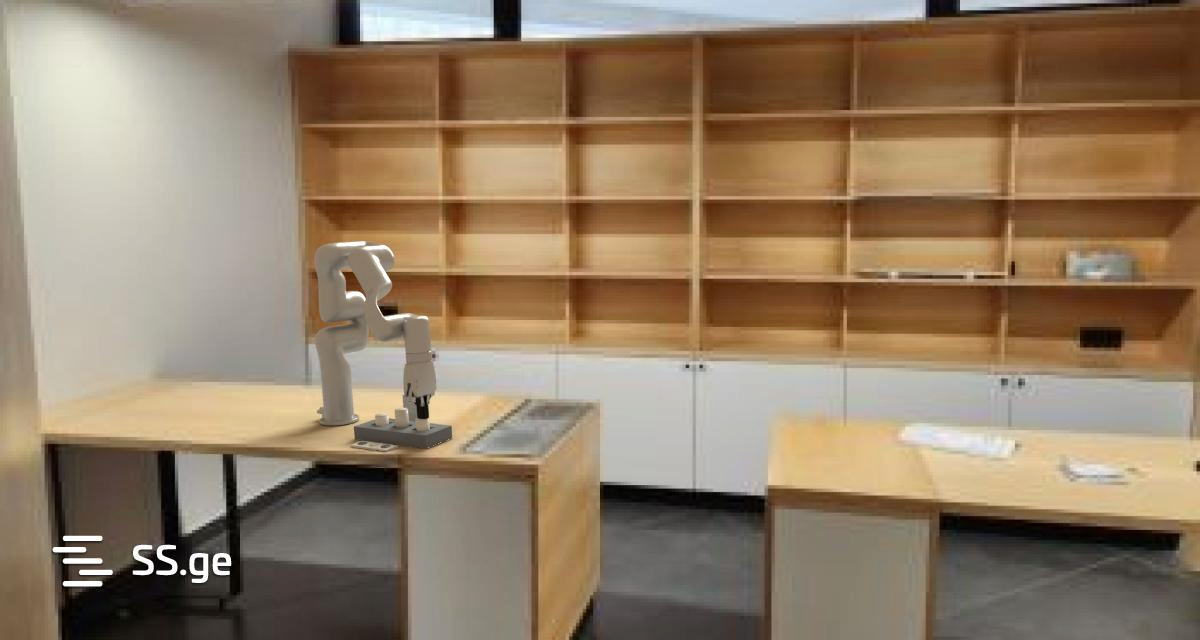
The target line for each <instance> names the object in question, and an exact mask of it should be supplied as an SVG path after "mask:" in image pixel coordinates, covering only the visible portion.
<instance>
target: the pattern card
mask: <svg viewBox="0 0 1200 640" xmlns="http://www.w3.org/2000/svg"><path fill="white" fill-rule="evenodd" d="M349 446H350V448H357V449H365V450H370V451H376V450H379V451H378V452H383V451H388V452H390V451H392V450H391V449H393V450H395V449H397V447H398V448H399V445H394V444H386V443H379V442H372V441H364V440H359V441H357V442H354V443H352V444H349ZM394 448H395V449H394ZM389 450H390V451H389Z"/></svg>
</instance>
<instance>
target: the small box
mask: <svg viewBox="0 0 1200 640" xmlns="http://www.w3.org/2000/svg"><path fill="white" fill-rule="evenodd" d="M429 406H430V404H429V405H428V409H429ZM402 408H408V416H409V421H416V418H417V407H416V406H415V403H414V402H409V401H408V397H406V396H405V395H404V394H402ZM429 410H430V409H429Z"/></svg>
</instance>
